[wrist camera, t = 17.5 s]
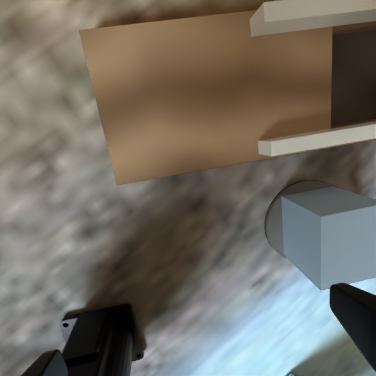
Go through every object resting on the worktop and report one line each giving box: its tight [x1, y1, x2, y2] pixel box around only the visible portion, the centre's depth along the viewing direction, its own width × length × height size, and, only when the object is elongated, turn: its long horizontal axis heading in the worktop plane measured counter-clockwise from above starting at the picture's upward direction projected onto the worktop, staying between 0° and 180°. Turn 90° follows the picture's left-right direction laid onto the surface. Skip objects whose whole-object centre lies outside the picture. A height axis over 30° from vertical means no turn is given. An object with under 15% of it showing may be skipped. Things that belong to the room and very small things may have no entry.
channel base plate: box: [79, 10, 376, 185], centre depth 17 cm, size 10×25×2 cm, turn 99°
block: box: [281, 186, 376, 290], centre depth 18 cm, size 5×6×5 cm
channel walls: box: [250, 0, 376, 157], centre depth 15 cm, size 9×14×2 cm, turn 99°
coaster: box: [265, 180, 332, 258], centre depth 21 cm, size 8×8×1 cm
